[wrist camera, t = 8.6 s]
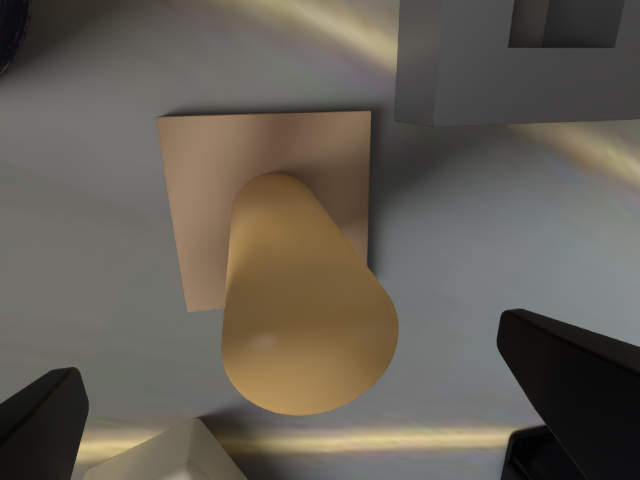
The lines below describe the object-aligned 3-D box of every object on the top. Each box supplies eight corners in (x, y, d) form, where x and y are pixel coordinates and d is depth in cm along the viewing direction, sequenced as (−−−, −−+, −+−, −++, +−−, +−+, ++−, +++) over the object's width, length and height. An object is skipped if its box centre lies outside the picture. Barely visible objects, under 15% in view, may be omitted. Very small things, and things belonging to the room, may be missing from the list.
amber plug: (317, 170, 17) (403, 254, 8) (319, 252, 19) (394, 400, 10) (227, 175, 17) (210, 272, 8) (236, 259, 18) (231, 427, 9)
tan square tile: (364, 110, 18) (371, 111, 17) (360, 283, 21) (366, 292, 20) (160, 116, 16) (155, 117, 15) (189, 302, 20) (187, 312, 19)
